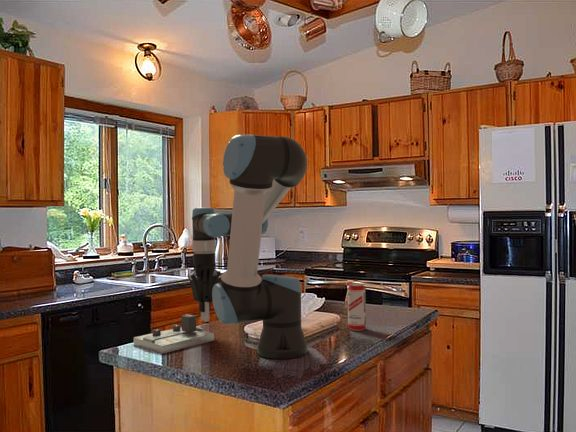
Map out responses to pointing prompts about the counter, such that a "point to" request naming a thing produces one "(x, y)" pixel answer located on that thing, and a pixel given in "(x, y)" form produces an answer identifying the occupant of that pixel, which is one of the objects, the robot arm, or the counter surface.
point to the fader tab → (188, 323)
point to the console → (172, 339)
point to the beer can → (356, 307)
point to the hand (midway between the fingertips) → (205, 320)
